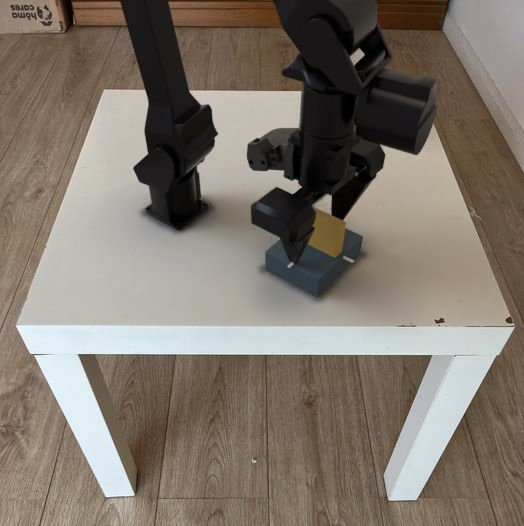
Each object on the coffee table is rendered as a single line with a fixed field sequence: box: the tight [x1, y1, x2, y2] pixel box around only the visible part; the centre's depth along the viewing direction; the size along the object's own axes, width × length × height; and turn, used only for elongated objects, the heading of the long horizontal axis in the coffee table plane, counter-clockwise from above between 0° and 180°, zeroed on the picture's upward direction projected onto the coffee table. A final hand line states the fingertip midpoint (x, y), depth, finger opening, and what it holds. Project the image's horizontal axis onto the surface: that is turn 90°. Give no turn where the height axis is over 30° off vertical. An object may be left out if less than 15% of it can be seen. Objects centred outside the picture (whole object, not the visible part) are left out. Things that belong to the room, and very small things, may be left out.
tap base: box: [264, 227, 364, 297], centre depth 74 cm, size 11×11×3 cm
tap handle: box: [308, 206, 347, 258], centre depth 71 cm, size 7×2×5 cm, turn 52°
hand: (315, 242), depth 72 cm, fingers open, 9 cm apart
